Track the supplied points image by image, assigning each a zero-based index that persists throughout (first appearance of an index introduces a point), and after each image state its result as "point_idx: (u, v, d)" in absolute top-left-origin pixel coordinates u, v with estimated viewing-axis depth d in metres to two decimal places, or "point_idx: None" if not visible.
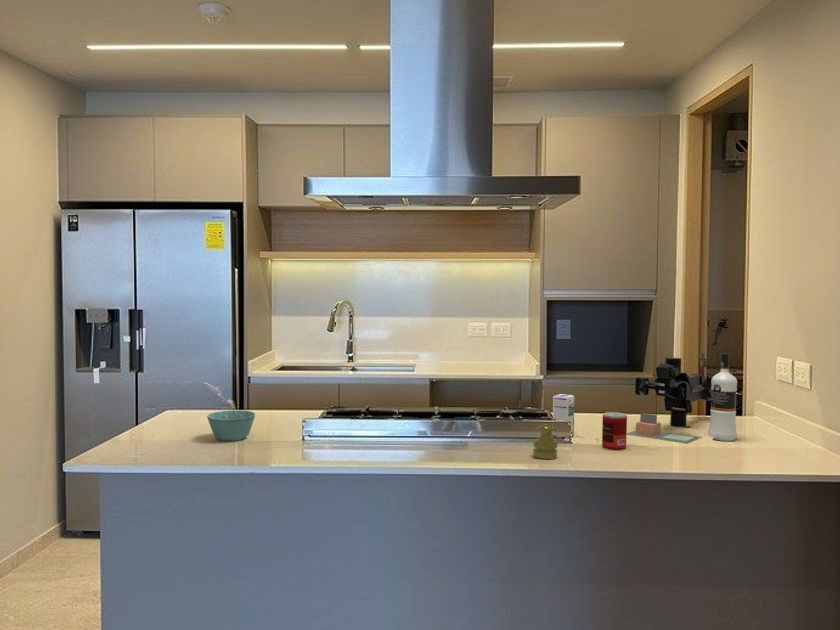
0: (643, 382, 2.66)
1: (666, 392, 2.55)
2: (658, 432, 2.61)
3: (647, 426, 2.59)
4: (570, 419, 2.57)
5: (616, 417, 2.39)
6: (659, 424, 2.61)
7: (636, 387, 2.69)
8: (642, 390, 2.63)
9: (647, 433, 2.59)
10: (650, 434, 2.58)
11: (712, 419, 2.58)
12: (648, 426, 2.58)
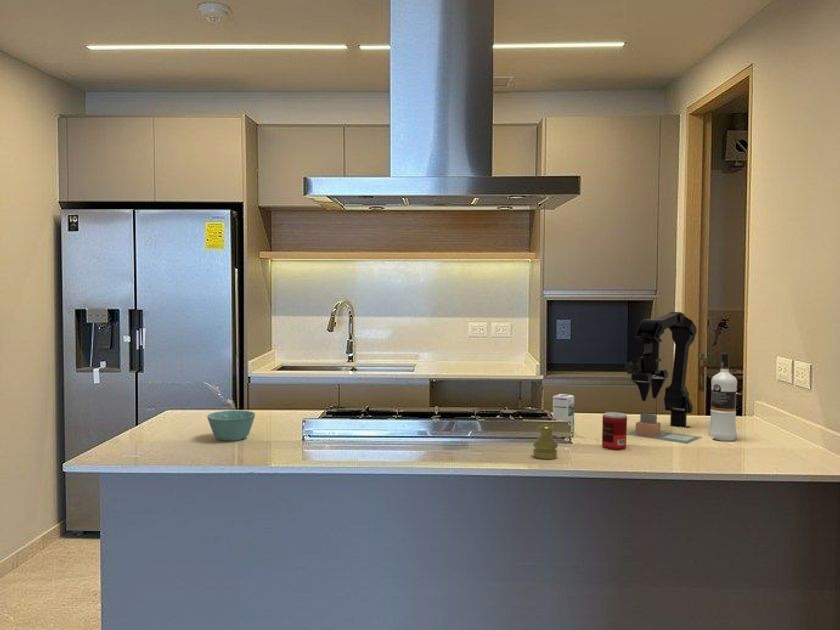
0: None
1: (643, 399, 2.57)
2: (658, 432, 2.61)
3: (647, 426, 2.59)
4: (570, 419, 2.57)
5: (616, 417, 2.39)
6: (659, 424, 2.61)
7: None
8: (656, 391, 2.64)
9: (647, 433, 2.59)
10: (650, 434, 2.58)
11: (712, 419, 2.58)
12: (648, 426, 2.58)
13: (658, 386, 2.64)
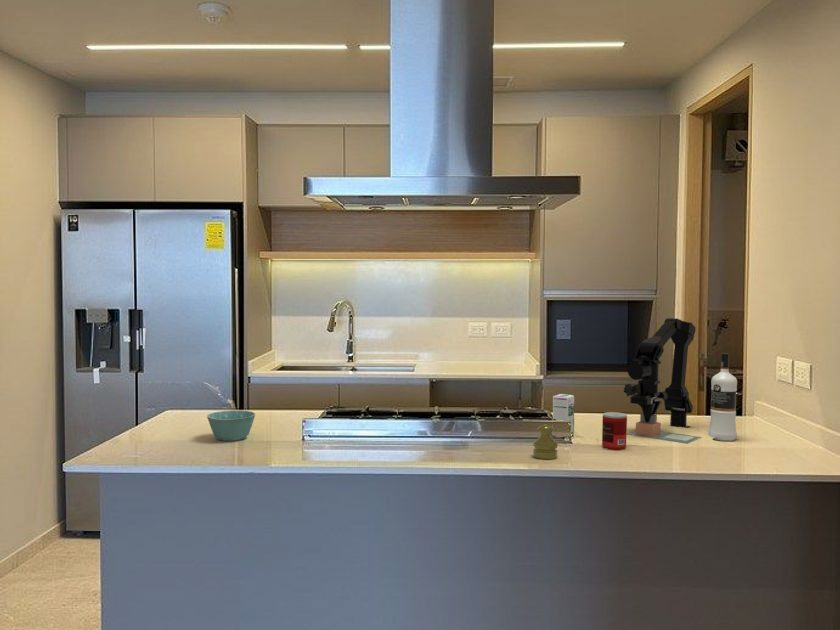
0: None
1: (647, 420, 2.61)
2: (658, 432, 2.61)
3: (647, 426, 2.59)
4: (570, 419, 2.57)
5: (616, 417, 2.39)
6: (659, 424, 2.61)
7: None
8: (651, 414, 2.62)
9: (647, 433, 2.59)
10: (650, 434, 2.58)
11: (712, 419, 2.58)
12: (648, 426, 2.58)
13: (653, 409, 2.62)
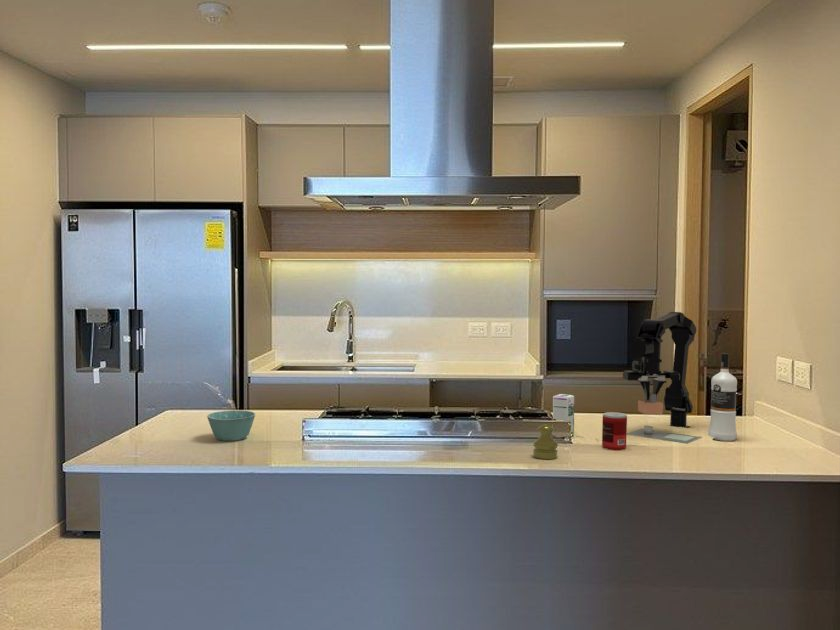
0: None
1: (646, 398, 2.61)
2: (657, 412, 2.58)
3: (642, 404, 2.60)
4: (570, 419, 2.57)
5: (616, 417, 2.39)
6: (659, 404, 2.58)
7: None
8: (654, 393, 2.60)
9: (642, 411, 2.60)
10: (643, 412, 2.59)
11: (712, 419, 2.58)
12: (643, 404, 2.59)
13: (655, 388, 2.60)
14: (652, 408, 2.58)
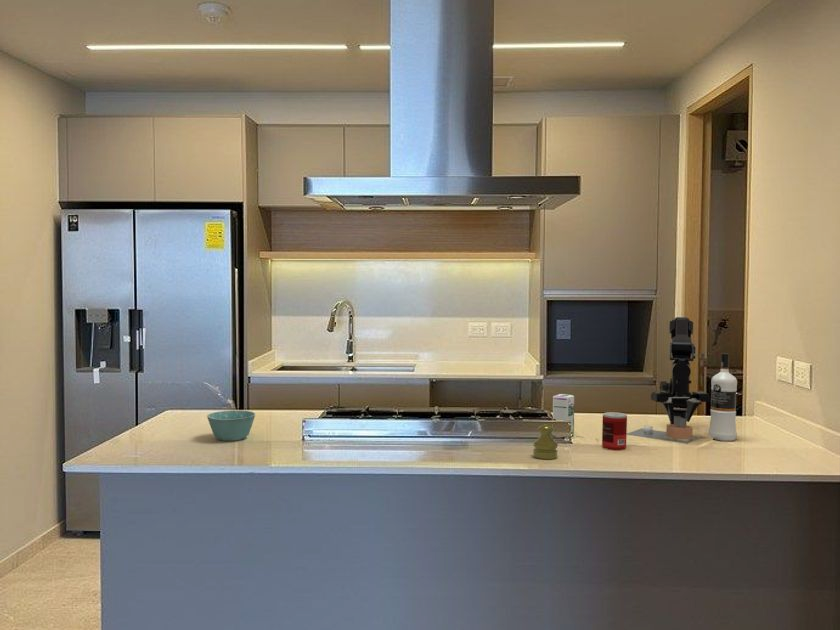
0: None
1: (670, 420, 2.54)
2: (687, 437, 2.52)
3: (671, 428, 2.53)
4: (570, 419, 2.57)
5: (616, 417, 2.39)
6: (689, 429, 2.52)
7: None
8: (688, 414, 2.54)
9: (671, 436, 2.53)
10: (672, 437, 2.52)
11: (712, 419, 2.58)
12: (672, 429, 2.53)
13: (690, 409, 2.53)
14: (681, 433, 2.51)
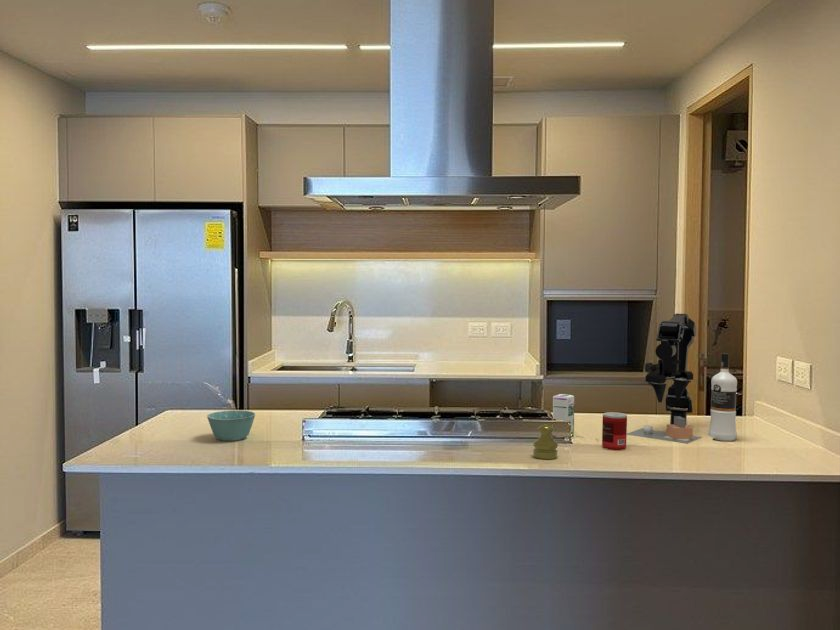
0: None
1: (659, 401, 2.58)
2: (687, 437, 2.52)
3: (671, 428, 2.53)
4: (570, 419, 2.57)
5: (616, 417, 2.39)
6: (689, 429, 2.52)
7: None
8: (679, 393, 2.63)
9: (671, 436, 2.53)
10: (672, 437, 2.52)
11: (712, 419, 2.58)
12: (672, 429, 2.53)
13: (681, 388, 2.62)
14: (681, 433, 2.51)
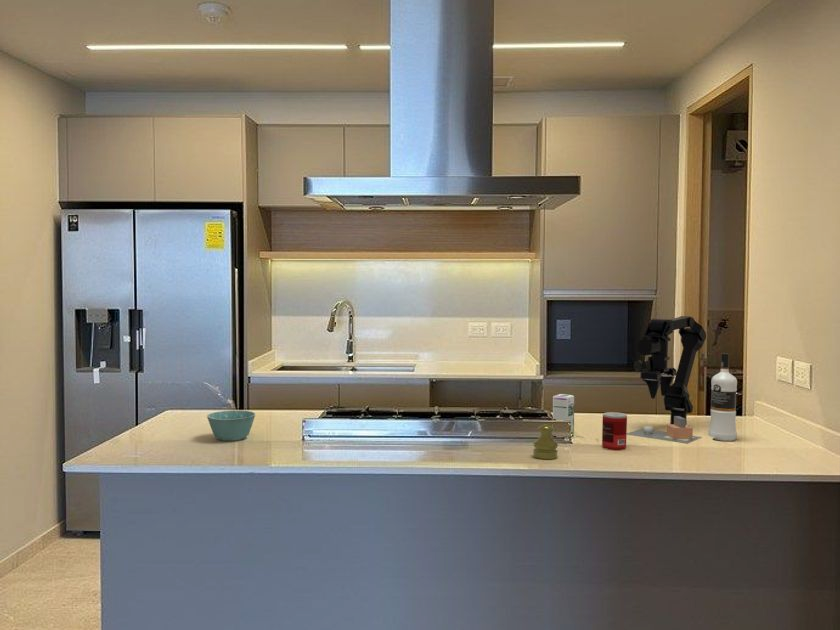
0: None
1: (652, 397, 2.64)
2: (687, 437, 2.52)
3: (671, 428, 2.53)
4: (570, 419, 2.57)
5: (616, 417, 2.39)
6: (689, 429, 2.52)
7: None
8: (664, 389, 2.70)
9: (671, 436, 2.53)
10: (672, 437, 2.52)
11: (712, 419, 2.58)
12: (672, 429, 2.53)
13: (667, 384, 2.70)
14: (681, 433, 2.51)
